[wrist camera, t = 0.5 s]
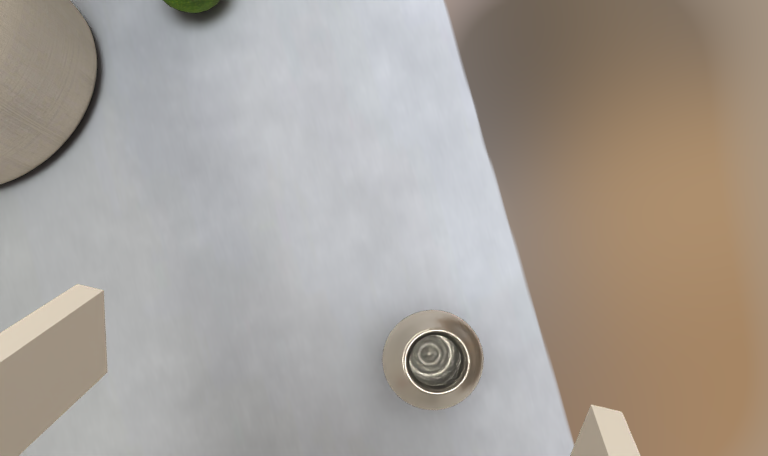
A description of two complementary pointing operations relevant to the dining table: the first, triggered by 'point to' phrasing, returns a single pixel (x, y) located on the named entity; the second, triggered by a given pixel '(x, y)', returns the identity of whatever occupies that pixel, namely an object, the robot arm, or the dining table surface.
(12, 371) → the robot arm
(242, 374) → the dining table surface
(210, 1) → the fruit
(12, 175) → the planter
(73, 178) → the dining table surface
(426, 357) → the plastic bottle
